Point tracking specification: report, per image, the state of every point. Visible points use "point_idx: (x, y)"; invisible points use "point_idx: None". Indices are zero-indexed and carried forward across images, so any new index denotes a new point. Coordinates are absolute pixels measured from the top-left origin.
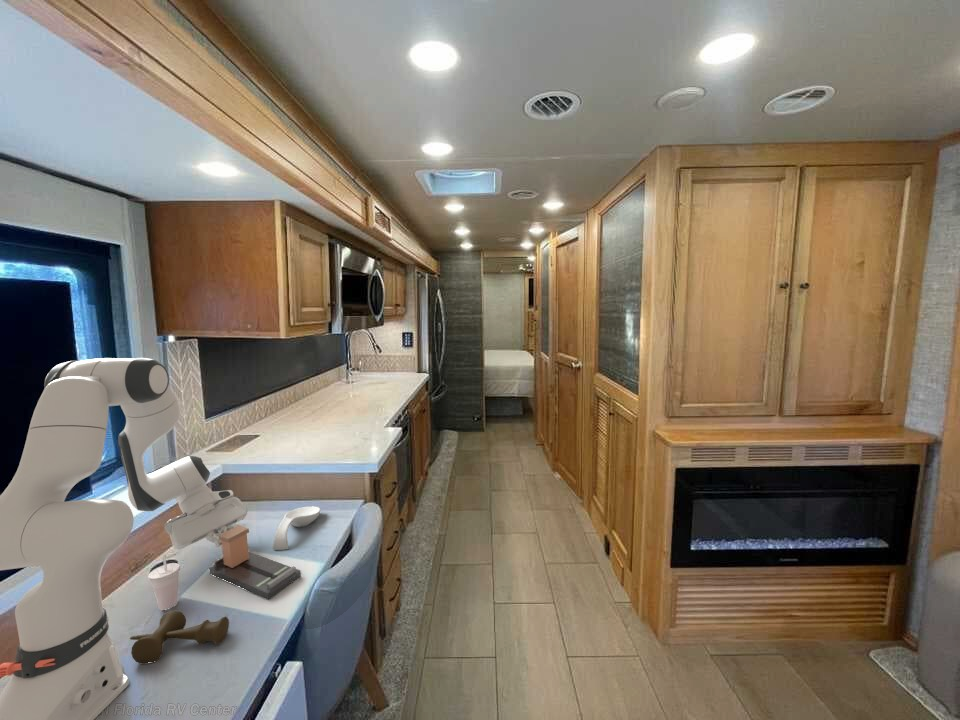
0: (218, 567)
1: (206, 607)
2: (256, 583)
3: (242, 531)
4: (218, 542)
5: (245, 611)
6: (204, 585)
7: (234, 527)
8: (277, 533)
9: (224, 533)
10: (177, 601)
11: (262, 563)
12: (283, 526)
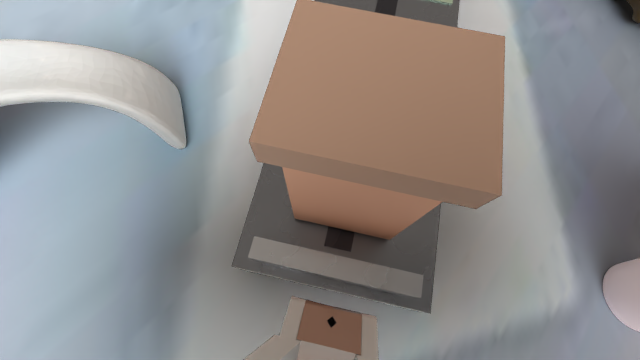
0: (409, 258)
1: (560, 129)
2: (440, 11)
3: (359, 10)
4: (372, 324)
5: (513, 4)
6: (483, 257)
7: (305, 148)
8: (118, 95)
9: (444, 153)
10: (613, 268)
11: None
12: (58, 71)
